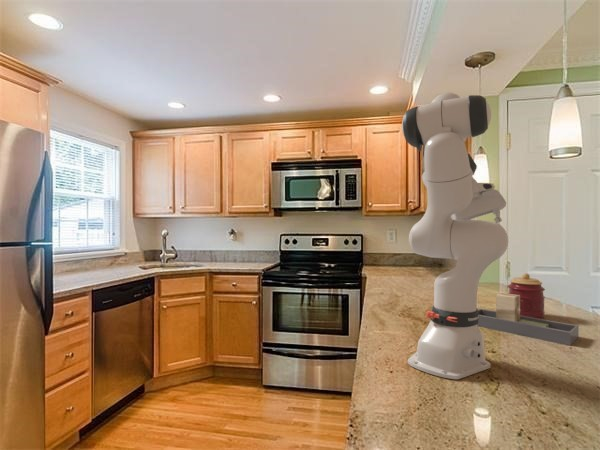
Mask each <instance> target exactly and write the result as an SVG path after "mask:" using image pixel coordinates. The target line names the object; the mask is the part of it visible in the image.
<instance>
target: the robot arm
mask: <svg viewBox="0 0 600 450" xmlns="http://www.w3.org/2000/svg"><path fill="white" fill-rule="evenodd" d="M491 120H492V109H491V107H490V104H489V102H488V101H487V99H486V98H485V97H484V96H482V95H480V94H477V95H476V94H475V95H473V94H471V95H468V96H466V97H465V96H464V97H461V96H460V95H458V94H457V93H454V92H444V93H441V94H439V95H437V96H436V97H435V98H433V99H432V101H431V102H430V103H427V104H424V105H421V106H414V107H412V108H409V109H407V110H406V111H405V113H404V114H403V116H402V120H401V121H402V122H401V132H402V135H403V137H404V139H405V141H406V143H407V144H408V145H410V146H411V147H413V148H416V149H417V151H418V152H422V172H421V180H422V183H423V185H424V187H425V188H426V197H427V200H426V201H427V204H426V205H427V206H426V210H425V212H424V214H423V216H422V217H421V219H420V220H419V221H417V222H415V223H414V224H413V226H412V227H411V229H410V231H409V233H408V244H409V247H410V248H411V251H412V252H413V253H414V254H416V255H420V256H424V257H426V258H427V257H428V258H431V259H432V258H434V259H446V260H447V259H451V260H456V264H455V267H454V268H452V269H449V270H447V271H445V272H442V273H440V274H439V275H438V276H437V277H436V278H435V279H434V282H433V305H432V308H431V310H428V311H426V315H425V316H426V318H427V319H430V321H429V323H428V325H427V327H425V329H424V331H423V333H422V334H421V336H420V338H419V339H418V342H417V348H416V352H415V353H414V354H413V355H411V356H410V357H409V358H408V359H407V364H408V365H409V366H411V367H412V368H415V369H417V370H418V371H422V372H424V373H427V374H429V375H432V376H436V377H440V378H445V379H450V380H460V379H462V378H463V379H464V378H466V377H468V376H471V375H474V374H478V373H480V372H483V371H485V370H488V369H491V363H490V362H489V361H487V360H486V353H485V352H486V351H485V338H484V337H485V336H484V334H483V332H482V331H481V330H480V328H479V326H477V324H478V318H479V314H478V310H477V309H478V308H477V303H478V302H477V301H478V289H479V288H478V287H479V282H480V280H481V277H482V276H483V275H482V274H484V271H486V269H487V268H488V267H489V266H490V265H492V263H494V262H496V261H497V260H498V259H500V258H501V257H502V256H503V255H504V254H505V253H506V251H507V249H508V246H509V236H508V233H507V231H506V230H505V228H504V227H503V225H501V224H500V223H501V222H502V221H503V220H502V217H501V211H502V210H503V209H504V208H506V206H507V202H506V200H505V198H504V196H503V195H502V193H500V191H499V190H497V189H495V188H496V186H495V185H494V183H493V182H492V183H487V182H486V183H484V182H477V180H476V179H475V178H474V177H473V176H474V175H475V172H476V171H477V168H478V166H477V163H476V162H475V160H474V159H473V157H472V156H471V154H470V153H468V150H467V147H466V143H465V142H466V141H467V139H468V138H471V137H472V138H475V137H478V136H481V135H483V134H485V133H486V132H487V130H488V128H489V125H490V122H491ZM491 213H493V215H495V218H494V219H493V221H494V222H493V221H487V220H481V219H476V218H479V217H482V216H486V215H489V214H491ZM473 219H474V220H473Z"/></svg>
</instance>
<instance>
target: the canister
mask: <svg viewBox="0 0 600 450" xmlns="http://www.w3.org/2000/svg"><path fill="white" fill-rule="evenodd" d="M509 282H510V284H509V285H507V288H508V292H507V294H514V295H520V315H521V316H527V317H532V318H538V319H544V318H545V316H546V315H545V298H546V297H545V296H544V292H545V290H546V289H545V287H543V286H542V285H543V282H542V281H541V280H539V279H537V278H531V277H530V274H529V273H527V272H526V273H525V272H524V273H523V274H522V275H521V277H517V276H516V277H514V278H512V279H510V280H509Z"/></svg>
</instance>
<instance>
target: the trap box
mask: <svg viewBox="0 0 600 450" xmlns="http://www.w3.org/2000/svg"><path fill="white" fill-rule="evenodd" d="M477 310H478V314H479V318H478V324H477V326H478V327H480V328H484V329H491V330H495V331H499V332H503V333H508V334H514V335H518V336H523V337H528V338H533V339H537V340H542V341H547V342H552V343H556V344H560V345H565V346H571V345H573V344H574V343H575V342H576V341H577V340H578V338H579V329H580V328H579V327H580V325H577V324H572V323H566V322H560V321H555V320H549V319H544V318H543V319H538V318H532V317H527V316H521V315H520V320H519V321H517V322H516V321H510V320H505V319H500V318H496V310H492V309H486V308H485V309H484V308H482V307H481V308H477Z"/></svg>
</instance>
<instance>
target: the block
mask: <svg viewBox="0 0 600 450" xmlns="http://www.w3.org/2000/svg"><path fill="white" fill-rule="evenodd" d="M495 311H496V318H500V319H505V320H510V321H516V322H517V321H519V320H520V295H514V294H508V292H507V293H505V292H500V293H497V294H496V295H495Z"/></svg>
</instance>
